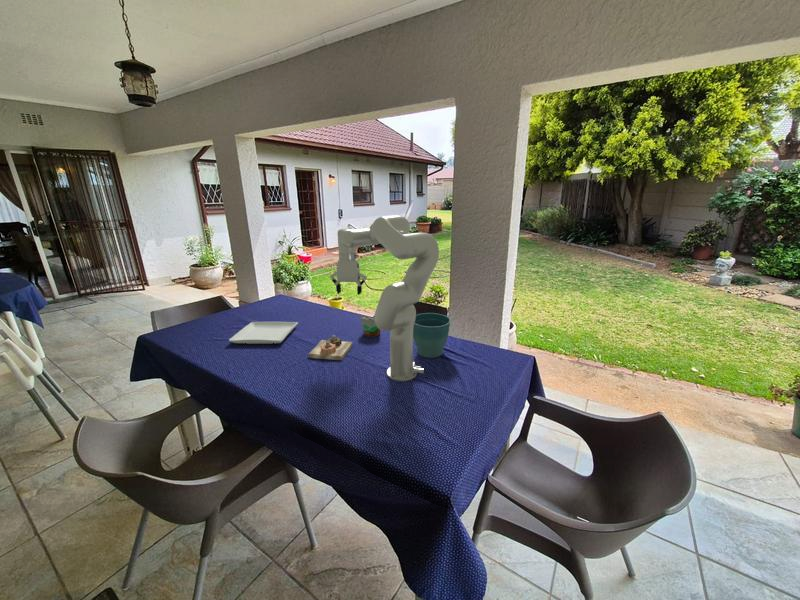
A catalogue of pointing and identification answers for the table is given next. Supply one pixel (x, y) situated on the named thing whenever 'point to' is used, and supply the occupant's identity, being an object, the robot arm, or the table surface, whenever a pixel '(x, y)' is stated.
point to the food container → (369, 327)
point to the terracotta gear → (328, 349)
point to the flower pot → (431, 334)
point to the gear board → (335, 354)
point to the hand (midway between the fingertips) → (349, 293)
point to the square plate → (264, 332)
